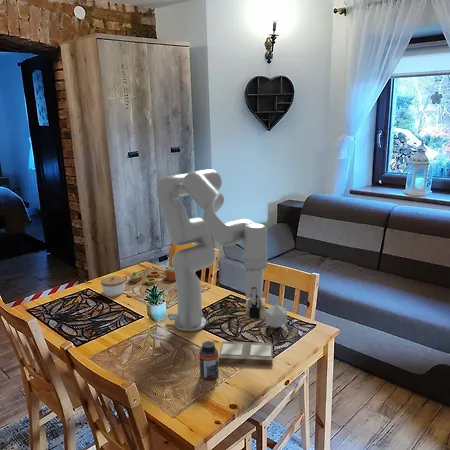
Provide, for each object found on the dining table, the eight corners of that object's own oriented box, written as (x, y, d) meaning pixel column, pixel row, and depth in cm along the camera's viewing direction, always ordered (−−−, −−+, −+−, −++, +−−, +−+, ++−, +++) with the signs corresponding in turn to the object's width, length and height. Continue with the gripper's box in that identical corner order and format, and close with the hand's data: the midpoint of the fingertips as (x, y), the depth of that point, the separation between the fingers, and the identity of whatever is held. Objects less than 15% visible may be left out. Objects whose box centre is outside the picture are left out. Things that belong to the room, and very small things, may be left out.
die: (286, 334, 166) (287, 309, 164) (263, 332, 168) (263, 308, 166) (288, 323, 174) (288, 300, 172) (265, 322, 176) (265, 299, 174)
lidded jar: (107, 290, 212) (106, 272, 210) (129, 291, 211) (127, 273, 209) (98, 299, 202) (96, 280, 200) (120, 300, 201) (119, 281, 198)
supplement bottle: (200, 370, 144) (198, 339, 141) (218, 369, 144) (217, 338, 141) (200, 381, 138) (199, 349, 135) (219, 380, 138) (218, 348, 136)
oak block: (245, 318, 143) (245, 304, 142) (247, 310, 149) (247, 297, 147) (264, 319, 142) (264, 305, 141) (265, 311, 148) (265, 297, 147)
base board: (218, 362, 148) (218, 357, 147) (222, 346, 159) (222, 340, 158) (272, 365, 146) (272, 359, 145) (272, 348, 156) (272, 342, 156)
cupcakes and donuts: (174, 273, 235) (173, 255, 232) (186, 282, 222) (185, 263, 219) (127, 283, 222) (125, 265, 220) (137, 293, 209) (135, 274, 207)
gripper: (246, 253, 150) (247, 302, 154) (240, 271, 133) (241, 325, 138) (268, 254, 148) (268, 303, 153) (265, 272, 132) (265, 326, 136)
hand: (255, 313), depth 145 cm, fingers closed on oak block, 6 cm apart
